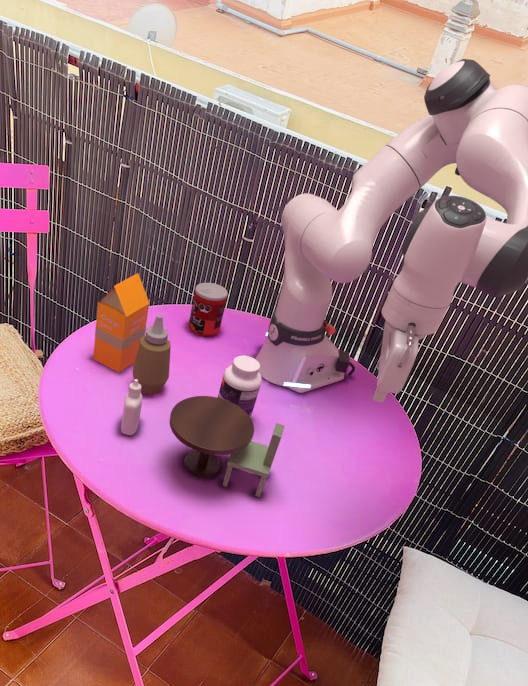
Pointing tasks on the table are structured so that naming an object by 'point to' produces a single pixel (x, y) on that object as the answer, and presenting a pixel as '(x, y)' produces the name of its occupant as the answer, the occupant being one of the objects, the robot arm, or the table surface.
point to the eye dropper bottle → (132, 409)
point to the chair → (256, 458)
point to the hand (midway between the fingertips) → (379, 383)
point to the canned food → (207, 309)
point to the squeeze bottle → (153, 359)
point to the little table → (210, 431)
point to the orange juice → (121, 324)
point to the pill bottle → (241, 383)
